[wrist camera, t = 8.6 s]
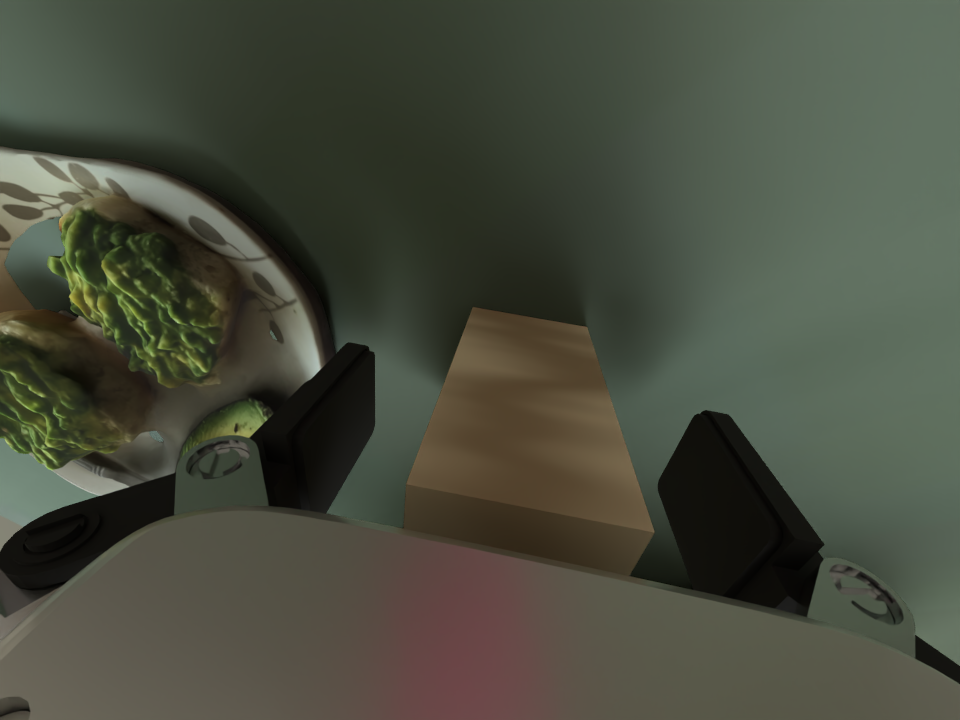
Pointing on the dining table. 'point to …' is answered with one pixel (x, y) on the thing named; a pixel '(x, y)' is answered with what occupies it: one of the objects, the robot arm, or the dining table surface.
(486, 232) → the dining table surface
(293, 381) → the salad plate
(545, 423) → the beige mallet
